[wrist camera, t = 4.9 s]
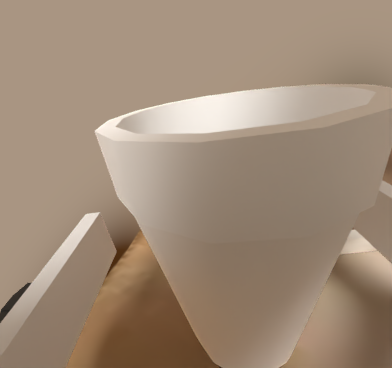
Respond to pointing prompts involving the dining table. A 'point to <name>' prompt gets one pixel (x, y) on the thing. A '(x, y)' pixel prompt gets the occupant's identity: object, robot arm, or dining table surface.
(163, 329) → the dining table surface
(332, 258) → the foam cup
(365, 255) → the dining table surface
